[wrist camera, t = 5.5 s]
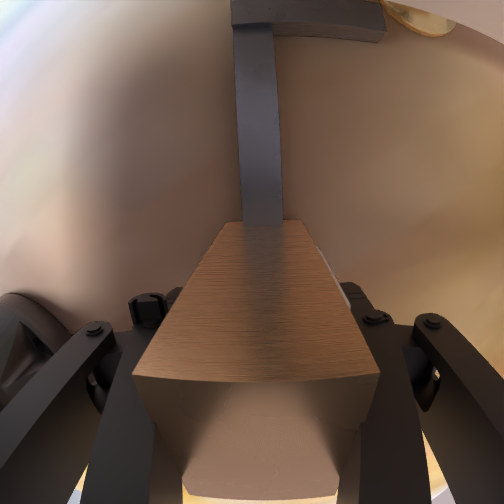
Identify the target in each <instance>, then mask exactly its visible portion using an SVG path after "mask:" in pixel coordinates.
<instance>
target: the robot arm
mask: <svg viewBox="0 0 504 504" xmlns="http://www.w3.org/2000/svg"><path fill="white" fill-rule="evenodd" d="M316 247H317V249H318V251H319V253H320V255H321V256H322V258H323V260H324V262H325V264H326V266H327V267H328V269H329V271H330V273H331V275H332V277H333V278H334V280H335V282H336V284H337V286H338V288H339V290H340V292H341V294H342V296H343V297H344V299H345V301H346V303H347V305H348V307H349V309H350V311H351V313H352V315H353V317H354V319H355V321H356V323H357V325H358V327H359V329H360V331H361V333H362V335H363V337H364V339H365V341H366V343H367V345H368V347H369V349H370V352H371V354H372V356H373V358H374V360H375V362H376V364H377V366H378V369H379V371H380V376H379V379H378V383H377V386H376V390H375V393H374V396H373V399H372V403H371V406H370V409H369V412H368V415H367V418H366V421H365V422H361V423H360V426H359V429H358V432H357V434H356V437H355V440H354V443H353V445H352V448H351V451H350V453H349V456H348V458H347V461H346V463H345V466H344V468H343V470H342V473H341V475H340V477H339V486H338V495H337V503H336V504H431V492H430V482H429V474H428V466H427V459H426V453H425V447H424V441H423V435H422V431H423V433H424V435H425V437H426V439H427V441H428V443H429V445H430V447H431V449H432V451H433V453H434V456H435V458H436V460H437V462H438V464H439V466H440V468H441V471H442V473H443V475H444V477H445V479H446V482H447V484H448V486H449V488H450V491H451V493H452V495H453V498H454V500H455V503H456V504H504V379H503V378H502V377H501V376H500V375H499V374H498V372H497V371H496V370H495V369H494V368H493V367H492V366H491V365H490V364H489V362H488V361H487V360H486V359H485V358H484V357H483V356H482V355H481V354H480V353H479V352H478V351H477V350H476V348H475V347H474V346H473V345H472V344H471V343H470V342H469V341H468V340H467V339H466V338H465V337H464V336H463V335H462V334H461V333H460V332H459V331H458V330H457V329H456V328H455V327H454V326H453V325H452V324H451V323H450V322H449V321H448V320H447V319H445V318H444V317H442V316H440V315H438V314H435V313H434V314H433V313H425V314H421V315H418V316H417V317H416V318H415V322H414V326H407V325H397V324H394V322H393V319H392V318H391V316H390V315H389V314H387V313H386V312H383V311H380V310H375V309H374V307H373V306H372V304H371V303H370V301H369V300H368V298H367V297H366V295H365V294H364V292H363V291H362V289H361V288H360V287H359V286H358V285H356V284H354V283H353V282H346V283H338V281H337V279H336V277H335V275H334V274H333V272H332V270H331V268H330V267H329V265H328V263H327V261H326V260H325V258H324V256H323V254H322V253H321V251H320V249H319V247H318V246H316ZM182 290H183V288H175V289H173V290H172V291H170V292H169V293H168V294H167V295H166V296H164V295H163V294H159V293H147V294H142V295H139V296H136V297H134V298H133V299H131V300H130V301H129V302H128V304H129V309H130V313H131V317H132V320H133V324H134V325H133V327H132V330H131V331H126V332H117V333H114V332H113V329H112V326H111V324H109V323H108V322H104V321H95V322H90V323H89V324H87V325H85V326H83V327H82V328H81V329H80V330H79V331H78V332H77V333H75V334H74V335H73V336H71V335H70V334H69V333H68V331H67V330H66V329H65V328H64V327H63V326H62V325H61V324H60V323H59V322H58V321H57V320H56V319H55V318H54V317H53V316H52V315H50V314H49V313H48V312H47V311H46V310H44V309H43V308H42V307H40V306H39V305H38V304H36V303H35V302H33V301H31V300H30V299H28V298H26V297H23V296H21V295H17V294H5V295H3V296H1V297H0V504H67V502H68V500H69V498H70V496H71V495H72V493H73V491H74V489H75V487H76V485H77V483H78V482H79V480H80V478H81V476H82V474H83V472H84V470H85V469H86V467H87V465H88V468H87V472H86V476H85V481H84V485H83V490H82V495H81V500H80V504H183V496H182V476H181V474H180V472H179V470H178V468H177V466H176V464H175V462H174V460H173V459H172V457H171V455H170V453H169V450H168V448H167V446H166V444H165V442H164V440H163V438H162V436H161V434H160V431H159V429H158V427H157V425H156V423H155V422H151V421H150V418H149V416H148V414H147V411H146V409H145V407H144V404H143V402H142V400H141V397H140V395H139V392H138V390H137V387H136V385H135V382H134V379H133V377H132V372H133V371H134V369H135V367H136V366H137V364H138V362H139V360H140V359H141V357H142V355H143V354H144V352H145V350H146V349H147V347H148V345H149V344H150V342H151V340H152V338H153V337H154V335H155V334H156V332H157V330H158V329H159V327H160V325H161V324H162V322H163V320H164V319H165V317H166V315H167V314H168V312H169V311H170V309H171V307H172V306H173V304H174V302H175V301H176V299H177V298H178V296H179V294H180V293H181V291H182ZM436 369H437V370H438V372H439V374H440V377H439V378H438V377H437V376H436V375H435V372H436ZM421 429H422V430H421ZM88 463H89V464H88Z"/></svg>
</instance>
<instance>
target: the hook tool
mask: <svg viewBox="0 0 504 504" xmlns="http://www.w3.org/2000/svg"><path fill="white" fill-rule="evenodd" d="M231 25H232V28H233V45H234V67H235V88H236V109H237V128H238V147H239V166H240V184H241V202H242V219H243V221H240V222H226V223H225V225H224V226H223V228H222V229H221V231H220V232H219V234H218V235H217V237H216V238H215V240H214V241H213V243H212V244H211V246H210V247H209V249H208V251H207V252H206V254H205V255H204V257H203V258H202V260H201V261H200V263H199V264H198V266H197V268H196V269H195V271H194V272H193V274H192V275H191V277H190V279H189V280H188V282H187V283H186V285H185V286H184V288H183V290H182V291H181V293H180V294H179V296H178V298H177V299H176V301H175V302H174V304H173V306H172V307H171V309H170V311H169V312H168V314H167V315H166V317H165V319H164V320H163V322H162V324H161V325H160V327H159V329H158V330H157V332H156V334H155V335H154V337H153V338H152V340H151V342H150V344H149V345H148V347H147V349H146V350H145V352H144V354H143V355H142V357H141V359H140V360H139V362H138V364H137V366H136V367H135V369H134V371H133V372H132V377H133V379H134V382H135V385H136V387H137V390H138V392H139V395H140V397H141V400H142V402H143V404H144V407H145V409H146V411H147V414H148V416H149V418H150V421H151V422H155V423H156V425H157V427H158V429H159V431H160V434H161V436H162V438H163V440H164V442H165V444H166V446H167V448H168V450H169V453H170V455H171V457H172V459H173V460H174V462H175V464H176V466H177V468H178V470H179V472H180V474H181V476H182V483H183V485H184V486H185V488H186V490H187V491H188V493H189V494H190V495H194V496H202V497H211V498H222V499H237V500H290V499H305V498H316V497H325V496H333V495H335V493H336V491H337V489H338V486H339V477H340V475H341V473H342V470H343V468H344V466H345V463H346V461H347V458H348V456H349V453H350V451H351V448H352V445H353V443H354V440H355V437H356V434H357V432H358V429H359V426H360V423H361V422H365V421H366V418H367V415H368V412H369V409H370V406H371V403H372V399H373V396H374V393H375V390H376V386H377V383H378V379H379V376H380V371H379V369H378V366H377V364H376V362H375V360H374V358H373V356H372V354H371V352H370V349H369V347H368V345H367V343H366V341H365V339H364V337H363V335H362V333H361V331H360V329H359V327H358V325H357V323H356V321H355V319H354V317H353V315H352V313H351V311H350V309H349V307H348V305H347V303H346V301H345V299H344V297H343V296H342V294H341V292H340V290H339V288H338V286H337V284H336V282H335V280H334V278H333V277H332V275H331V273H330V271H329V269H328V267H327V266H326V264H325V262H324V260H323V258H322V256H321V255H320V253H319V251H318V249H317V247H316V246H315V244H314V242H313V240H312V239H311V237H310V235H309V233H308V231H307V230H306V228H305V226H304V225H303V223H302V221H301V219H298V220H283V199H282V171H281V148H280V129H279V111H278V95H277V80H276V66H275V53H274V41H273V36H315V37H330V38H341V39H350V40H358V41H366V42H372V43H377V42H378V41H379V40H380V39H381V38H382V37H383V36H384V35H385V34H386V33H387V30H386V25H385V21H384V16H383V12H382V8H381V4H377V3H372V2H367V1H361V0H231Z"/></svg>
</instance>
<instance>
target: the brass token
mask: <svg viewBox="0 0 504 504" xmlns="http://www.w3.org/2000/svg"><path fill="white" fill-rule="evenodd" d="M378 1H379V2H380V4H381V5H382V7H383V8H384V9H385V10H386V11H387V12H388V13H389V14H390V15H391V16H392V17H393V18H394V19H395V20H396V21H398V22H399V23H400V24H402V25H403V26H405V27H406V28H408V29H409V30H411V31H413V32H415V33H418V34H420V35H423V36H427V37H441V36H443V35H445V34H447V33H448V32H450V31H451V30H453V29H454V27H455V25H456V22H455V21H452V20H450V19H447V18H444V17H441V16H439V15H436V14H433V13H430V12H427V11H423V10H420V9H417V8H413V7H410V6H406V5H402V4H399V3H394V2H390V1H386V0H378Z"/></svg>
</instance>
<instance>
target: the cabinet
mask: <svg viewBox="0 0 504 504" xmlns="http://www.w3.org/2000/svg"><path fill="white" fill-rule="evenodd" d="M386 1H390V2H394V3H399V4H402V5H406V6H410V7H413V8H417V9H420V10H423V11H427V12H430V13H433V14H436V15H439V16H441V17H444V18H447V19H450V20H452V21H455V22H457V23H460V24H462V25H465V26H467V27H469V28H471V29H474V30H476V31H478V32H480V33H482V34H484V35H486V36H489V37H491V38H492V39H494V40H496V41H498V42H500V43H502V44H504V0H386Z"/></svg>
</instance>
